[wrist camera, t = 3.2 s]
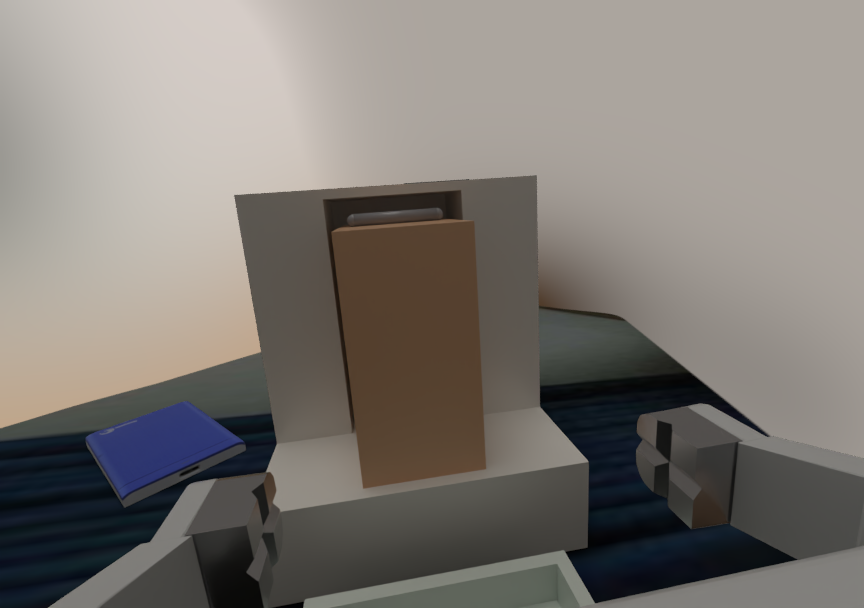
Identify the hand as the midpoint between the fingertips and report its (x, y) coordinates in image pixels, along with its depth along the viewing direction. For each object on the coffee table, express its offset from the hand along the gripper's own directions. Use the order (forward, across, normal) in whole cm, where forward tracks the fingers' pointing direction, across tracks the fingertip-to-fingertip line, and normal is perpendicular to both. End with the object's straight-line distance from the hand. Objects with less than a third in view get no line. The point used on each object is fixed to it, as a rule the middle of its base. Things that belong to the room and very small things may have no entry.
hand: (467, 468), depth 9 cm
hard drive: (+26, +20, +13) cm, 35 cm away
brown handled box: (+15, 0, +7) cm, 16 cm away
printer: (+19, 0, +12) cm, 23 cm away
